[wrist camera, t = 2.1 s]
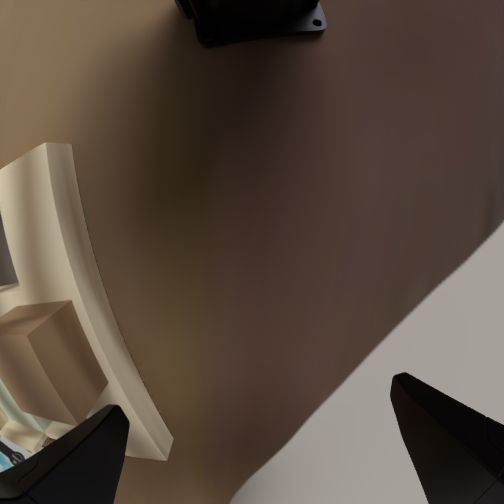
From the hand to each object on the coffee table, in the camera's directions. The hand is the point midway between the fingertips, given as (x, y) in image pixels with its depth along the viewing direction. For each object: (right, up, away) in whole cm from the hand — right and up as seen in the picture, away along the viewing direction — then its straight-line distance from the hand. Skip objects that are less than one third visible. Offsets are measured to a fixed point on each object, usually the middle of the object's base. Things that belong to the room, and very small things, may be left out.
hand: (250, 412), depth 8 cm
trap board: (-18, -1, +9) cm, 20 cm away
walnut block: (-12, -1, +6) cm, 13 cm away
